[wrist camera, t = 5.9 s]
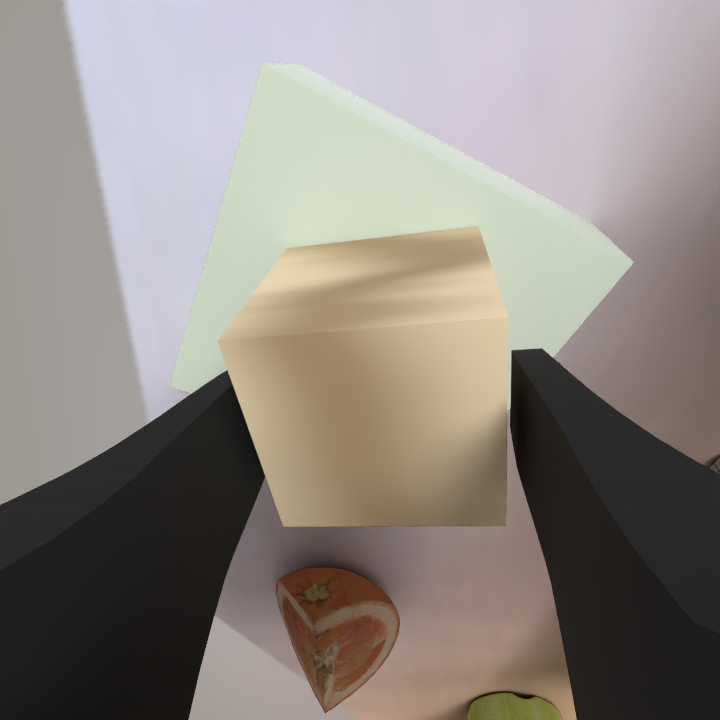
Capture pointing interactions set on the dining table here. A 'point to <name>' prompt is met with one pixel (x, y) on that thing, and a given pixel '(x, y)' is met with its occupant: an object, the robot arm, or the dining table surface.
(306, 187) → the sage base block
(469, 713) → the plant pot
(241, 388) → the maple cube
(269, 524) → the dining table surface
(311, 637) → the fruit slice
